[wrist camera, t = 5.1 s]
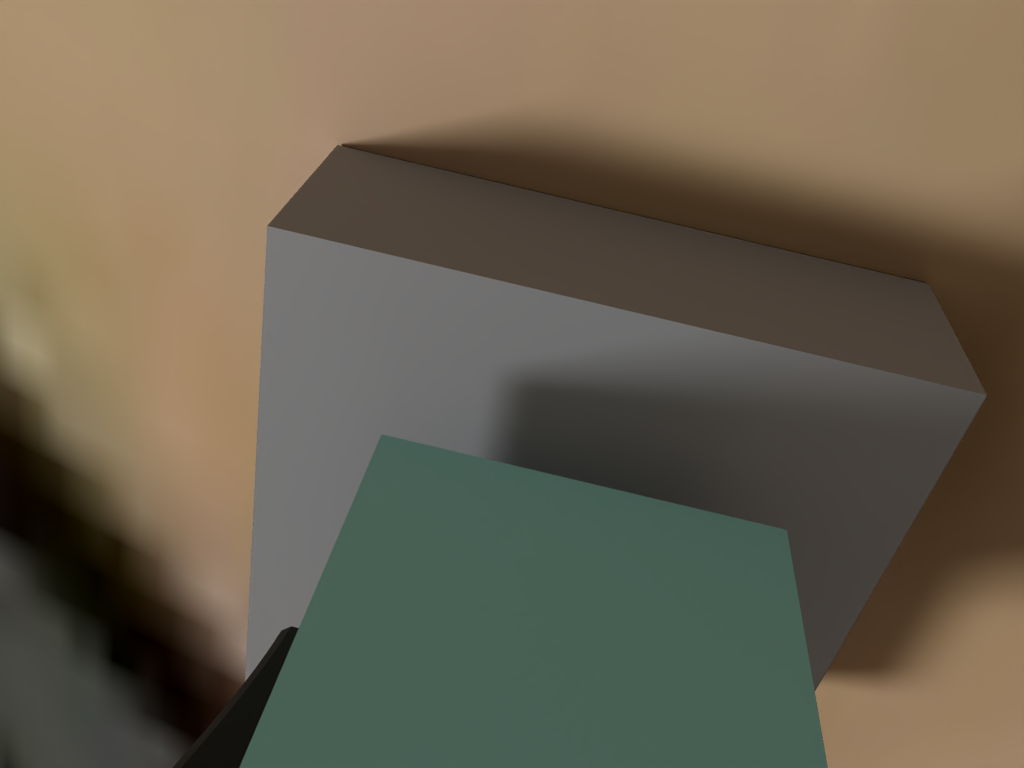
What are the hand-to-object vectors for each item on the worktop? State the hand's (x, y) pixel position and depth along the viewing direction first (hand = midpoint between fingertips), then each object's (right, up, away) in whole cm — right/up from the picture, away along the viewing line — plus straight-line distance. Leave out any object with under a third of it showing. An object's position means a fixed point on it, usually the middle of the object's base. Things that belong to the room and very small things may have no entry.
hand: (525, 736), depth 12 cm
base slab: (+1, +3, +5) cm, 6 cm away
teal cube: (0, +1, +1) cm, 2 cm away
